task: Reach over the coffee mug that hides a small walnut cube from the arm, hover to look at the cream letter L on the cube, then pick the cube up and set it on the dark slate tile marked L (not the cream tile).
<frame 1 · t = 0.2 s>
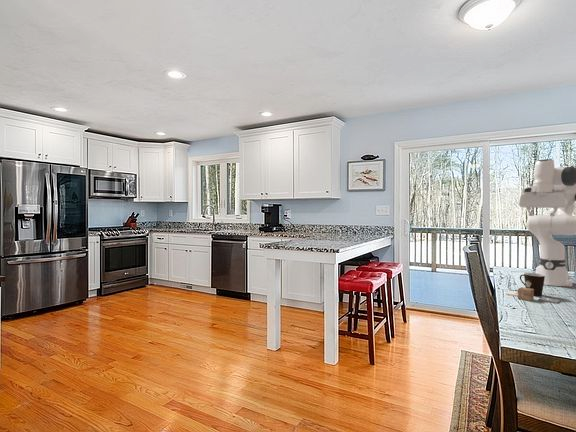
hand: (541, 216, 184), 39 cm above the table, tool pointing down, fingers open, 8 cm apart
letter cube: (525, 299, 168), on the table
tile b: (516, 294, 176), on the table
tile a: (549, 300, 165), on the table
coffee mug: (532, 294, 178), on the table
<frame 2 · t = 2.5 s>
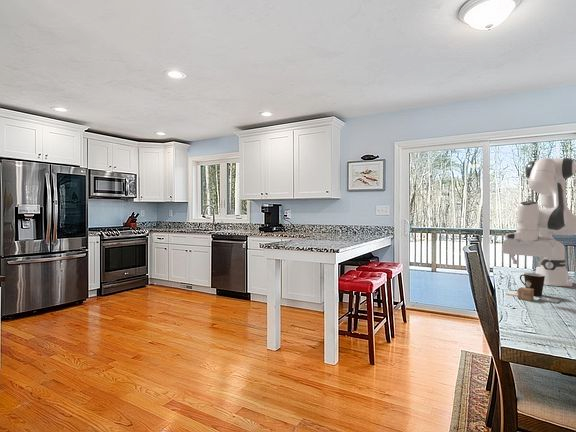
hand: (526, 265, 167), 16 cm above the table, tool pointing down, fingers open, 8 cm apart
nothing on the table moved.
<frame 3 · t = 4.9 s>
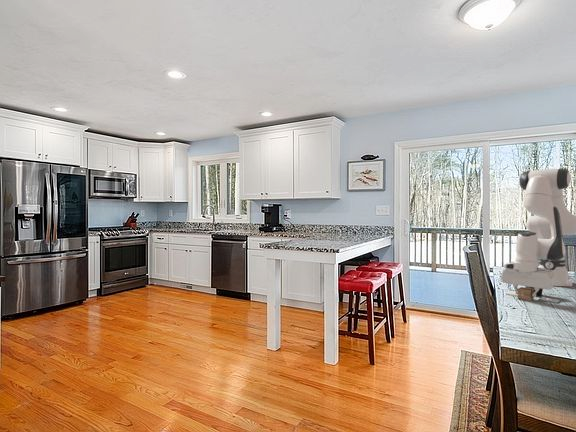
hand: (525, 295, 168), 2 cm above the table, tool pointing down, fingers closed on letter cube, 5 cm apart
letter cube: (525, 299, 168), on the table, touching gripper
everything else where it was.
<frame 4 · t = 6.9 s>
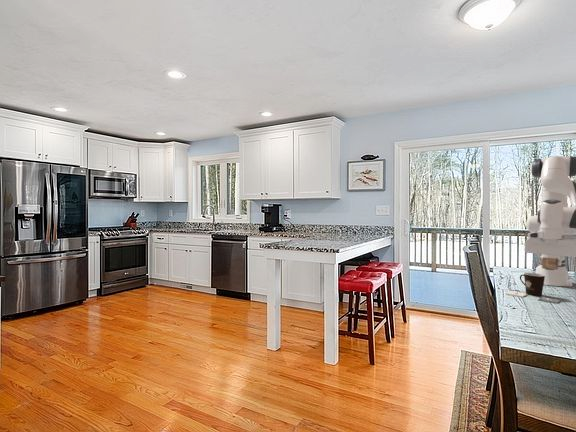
hand: (550, 264, 165), 17 cm above the table, tool pointing down, fingers closed on letter cube, 5 cm apart
letter cube: (549, 268, 165), point 15 cm above the table, tilted 6°, touching gripper
everything else where it was.
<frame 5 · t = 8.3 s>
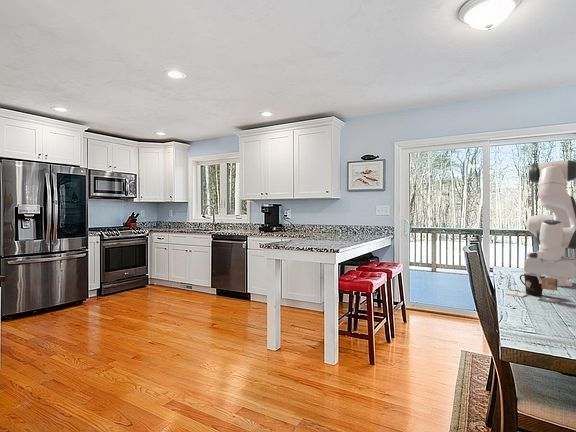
hand: (549, 285, 165), 7 cm above the table, tool pointing down, fingers closed on letter cube, 5 cm apart
letter cube: (549, 289, 165), point 5 cm above the table, tilted 6°, touching gripper
everything else where it was.
when the fingers open (4 cm above the table, at t = 9.3 s): letter cube drops 1 cm, resting on tile a.
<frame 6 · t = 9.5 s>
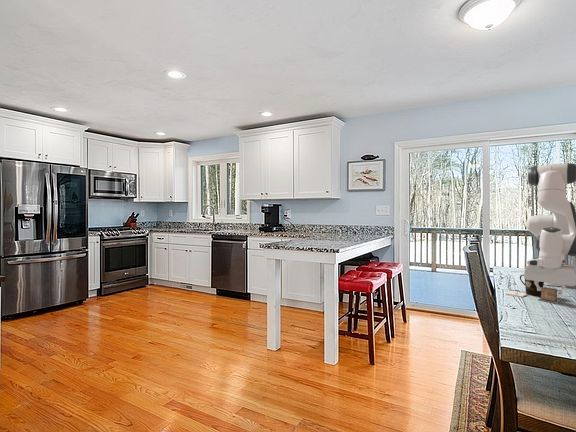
hand: (549, 292, 165), 4 cm above the table, tool pointing down, fingers open, 7 cm apart
letter cube: (549, 299, 165), point 1 cm above the table, touching tile a
everything else where it was.
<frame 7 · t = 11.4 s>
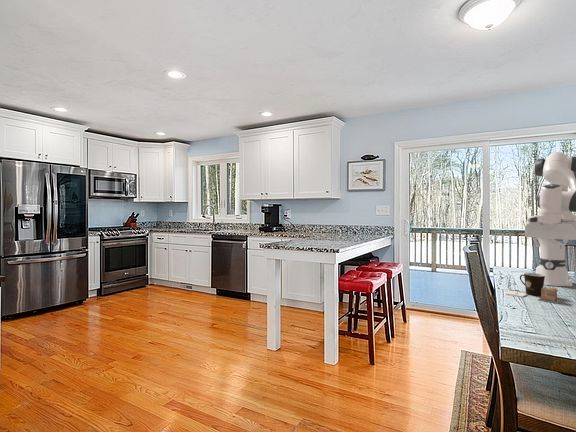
hand: (549, 248, 169), 24 cm above the table, tool pointing down, fingers open, 8 cm apart
nothing on the table moved.
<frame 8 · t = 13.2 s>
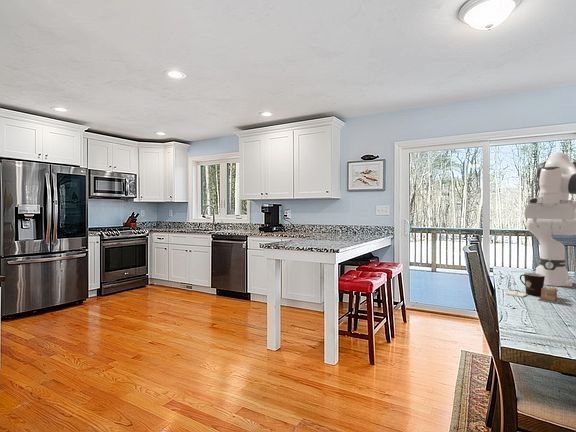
hand: (548, 228, 173), 33 cm above the table, tool pointing down, fingers open, 8 cm apart
nothing on the table moved.
at the end: letter cube inside the target area on the tile a (0.4 cm from its centre), point 0.6 cm above the tile a's base; the gripper is holding nothing; coffee mug moved 0.2 cm from its start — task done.
